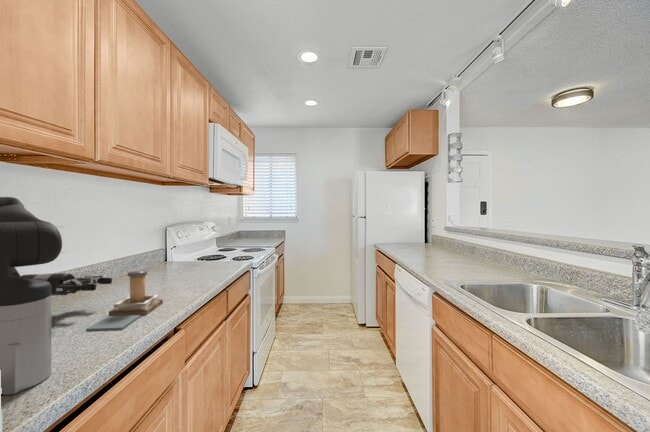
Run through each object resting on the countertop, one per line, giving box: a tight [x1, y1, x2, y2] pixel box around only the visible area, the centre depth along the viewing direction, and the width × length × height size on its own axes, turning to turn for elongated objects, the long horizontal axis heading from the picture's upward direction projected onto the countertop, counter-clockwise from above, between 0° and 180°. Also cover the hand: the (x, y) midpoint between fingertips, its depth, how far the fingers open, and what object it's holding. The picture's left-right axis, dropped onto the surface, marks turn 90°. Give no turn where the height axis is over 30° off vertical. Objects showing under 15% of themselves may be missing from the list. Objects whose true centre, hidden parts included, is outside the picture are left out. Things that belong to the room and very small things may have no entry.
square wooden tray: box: [108, 294, 164, 316], centre depth 101 cm, size 12×12×4 cm
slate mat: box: [86, 315, 142, 332], centre depth 88 cm, size 10×10×1 cm
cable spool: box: [126, 269, 148, 303], centre depth 101 cm, size 6×6×12 cm
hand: (103, 283), depth 99 cm, fingers open, 8 cm apart
